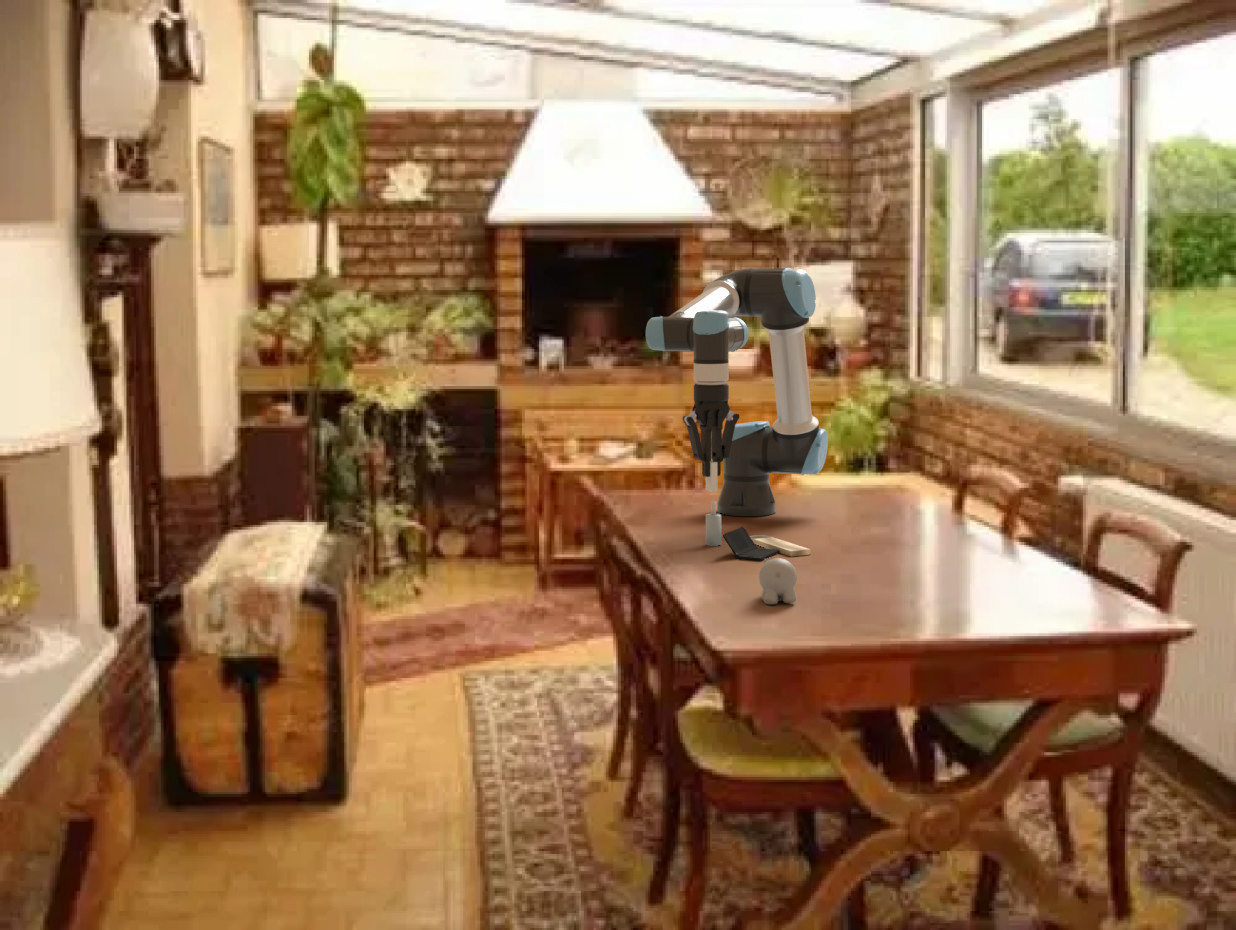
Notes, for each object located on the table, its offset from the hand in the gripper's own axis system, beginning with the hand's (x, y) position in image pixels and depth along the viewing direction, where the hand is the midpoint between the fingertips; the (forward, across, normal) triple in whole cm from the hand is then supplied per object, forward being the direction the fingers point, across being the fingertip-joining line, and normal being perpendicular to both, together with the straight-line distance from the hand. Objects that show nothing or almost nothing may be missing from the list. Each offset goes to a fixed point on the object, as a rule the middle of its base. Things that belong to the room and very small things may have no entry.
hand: (711, 491), depth 334 cm
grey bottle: (+15, -8, -15) cm, 23 cm away
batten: (+15, -19, -5) cm, 25 cm away
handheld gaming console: (+16, -10, 0) cm, 18 cm away
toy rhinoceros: (+15, +8, +40) cm, 44 cm away
